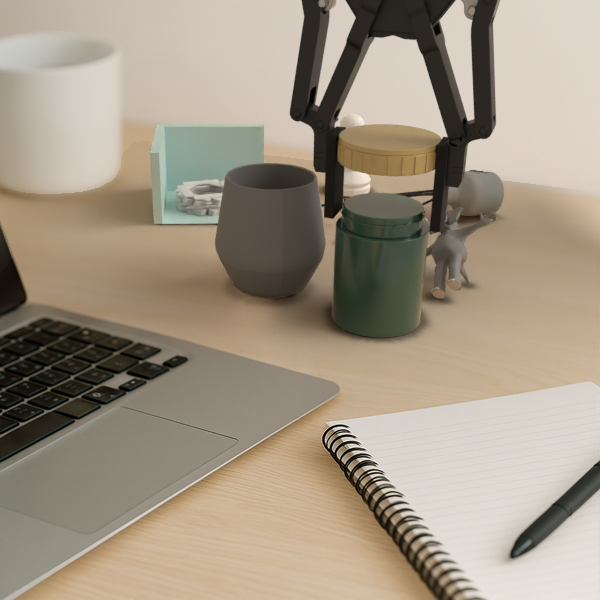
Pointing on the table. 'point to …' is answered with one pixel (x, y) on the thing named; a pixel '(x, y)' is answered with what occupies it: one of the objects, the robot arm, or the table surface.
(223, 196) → the cup
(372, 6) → the robot arm
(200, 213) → the l-shaped corner panel
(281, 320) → the table surface
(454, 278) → the elephant figurine
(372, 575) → the table surface
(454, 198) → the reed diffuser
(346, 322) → the jar
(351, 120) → the chess pawn
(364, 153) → the jar lid
